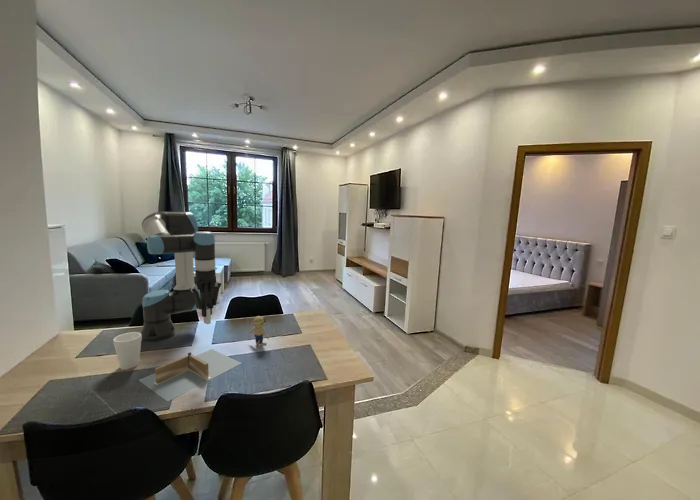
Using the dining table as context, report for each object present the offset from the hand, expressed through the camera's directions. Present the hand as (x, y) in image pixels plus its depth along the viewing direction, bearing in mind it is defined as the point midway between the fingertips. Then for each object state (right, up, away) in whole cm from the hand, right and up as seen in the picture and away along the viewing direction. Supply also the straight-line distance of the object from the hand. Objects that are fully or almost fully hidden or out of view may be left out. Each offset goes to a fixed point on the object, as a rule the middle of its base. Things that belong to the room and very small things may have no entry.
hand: (207, 322), depth 123 cm
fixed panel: (-10, -20, -7) cm, 23 cm away
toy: (+15, -17, +23) cm, 32 cm away
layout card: (-4, -20, -3) cm, 21 cm away
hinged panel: (-2, -19, -4) cm, 20 cm away
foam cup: (-33, -18, 0) cm, 38 cm away
